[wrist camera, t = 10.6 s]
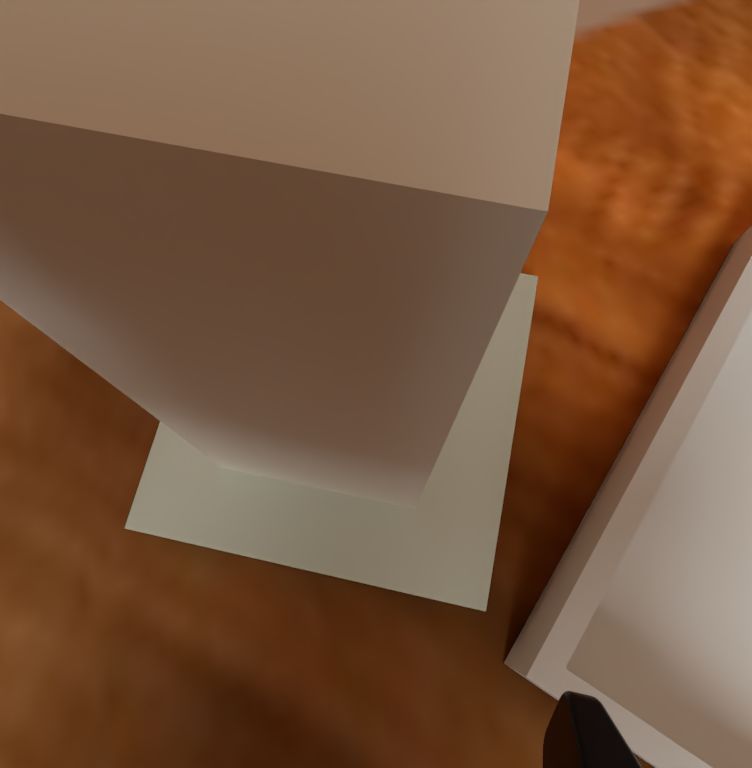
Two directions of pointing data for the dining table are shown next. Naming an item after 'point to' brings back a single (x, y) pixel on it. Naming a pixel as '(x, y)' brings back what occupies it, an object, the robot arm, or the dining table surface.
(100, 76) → the carton
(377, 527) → the board
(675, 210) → the dining table surface
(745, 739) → the parts tray
